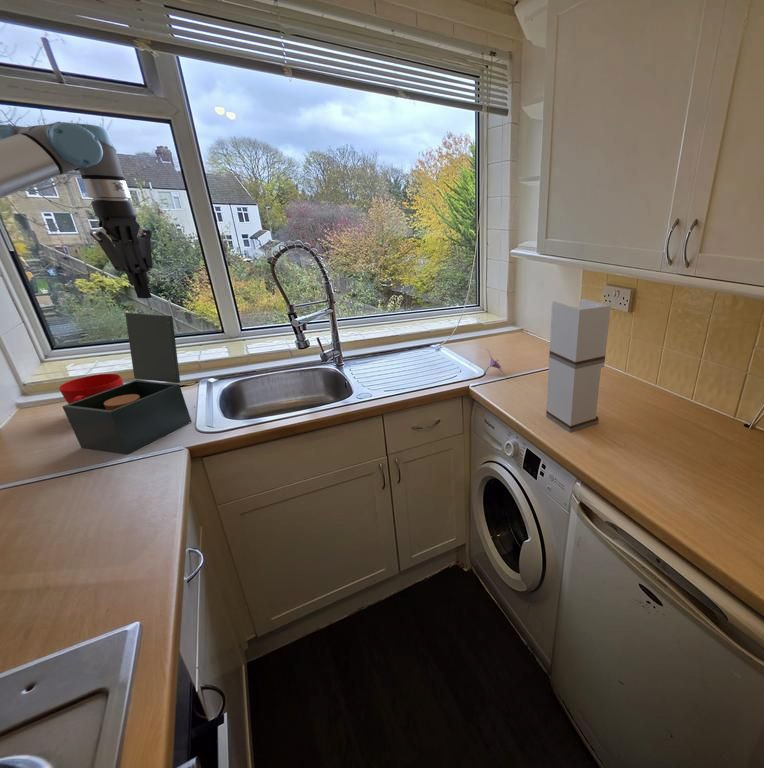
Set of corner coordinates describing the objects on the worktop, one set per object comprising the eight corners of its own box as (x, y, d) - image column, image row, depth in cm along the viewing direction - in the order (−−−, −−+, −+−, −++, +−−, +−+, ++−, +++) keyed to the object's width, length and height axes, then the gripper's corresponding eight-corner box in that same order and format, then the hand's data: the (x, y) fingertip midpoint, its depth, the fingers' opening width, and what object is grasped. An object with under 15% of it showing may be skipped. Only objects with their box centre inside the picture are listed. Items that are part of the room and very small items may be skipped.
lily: (499, 384, 149) (511, 361, 148) (471, 370, 149) (482, 346, 148) (502, 382, 161) (513, 360, 160) (475, 368, 161) (486, 347, 160)
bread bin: (127, 454, 101) (110, 412, 96) (81, 447, 103) (61, 406, 99) (191, 421, 117) (179, 384, 112) (150, 416, 119) (136, 379, 115)
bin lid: (169, 315, 108) (172, 315, 109) (124, 312, 111) (128, 312, 111) (177, 383, 112) (180, 382, 113) (134, 378, 114) (137, 378, 115)
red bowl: (56, 432, 110) (40, 399, 106) (85, 407, 124) (72, 377, 121) (117, 423, 115) (104, 391, 111) (138, 400, 129) (127, 371, 126)
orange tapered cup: (110, 440, 105) (96, 406, 101) (130, 427, 112) (117, 394, 108) (140, 439, 106) (126, 404, 102) (158, 426, 113) (146, 393, 109)
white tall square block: (597, 423, 120) (610, 305, 106) (569, 432, 115) (579, 309, 101) (573, 408, 129) (582, 298, 115) (546, 416, 123) (552, 301, 110)
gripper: (93, 199, 91) (130, 303, 101) (151, 200, 103) (179, 294, 112) (67, 199, 93) (106, 301, 102) (127, 200, 104) (157, 292, 114)
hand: (144, 297), depth 107 cm, fingers closed
